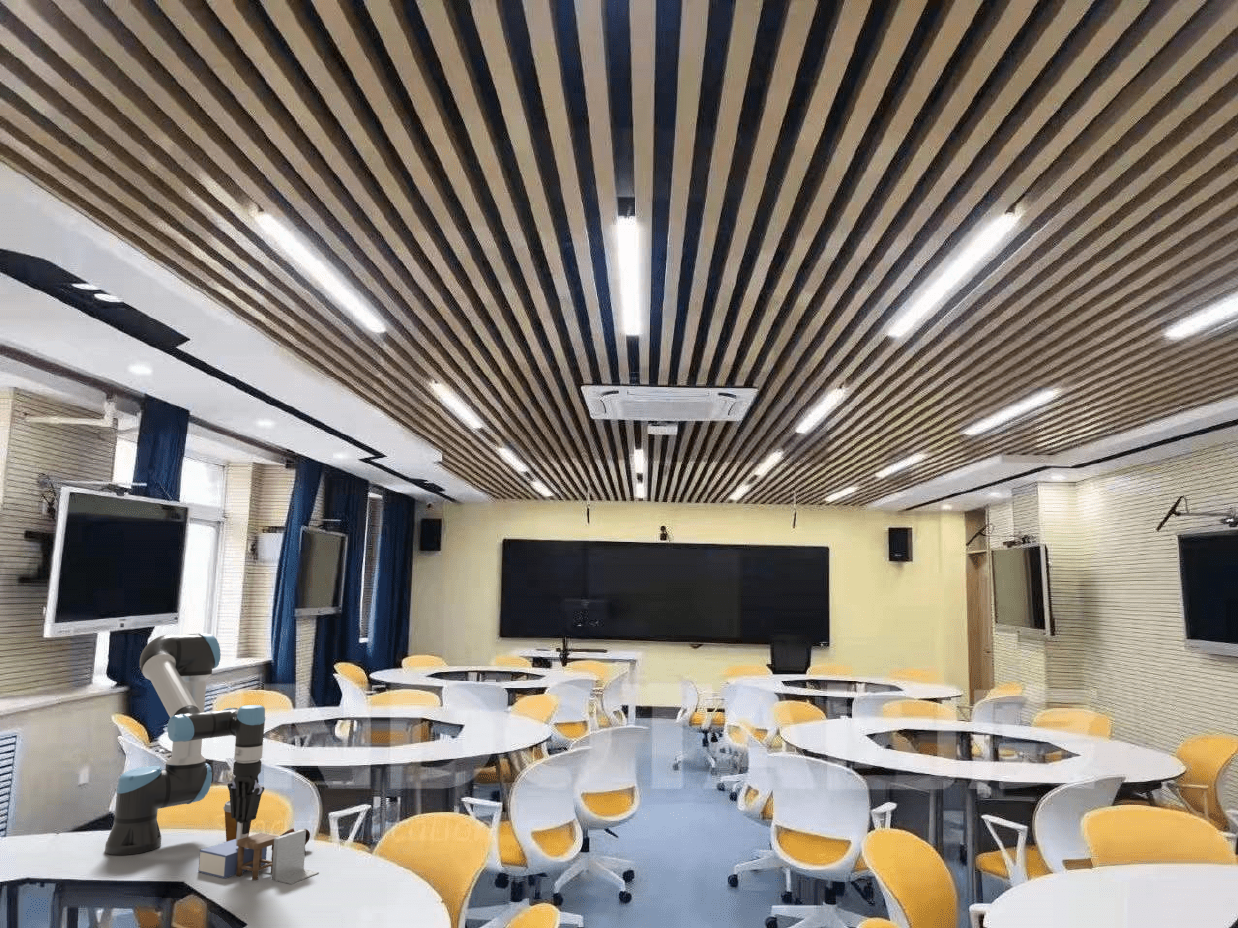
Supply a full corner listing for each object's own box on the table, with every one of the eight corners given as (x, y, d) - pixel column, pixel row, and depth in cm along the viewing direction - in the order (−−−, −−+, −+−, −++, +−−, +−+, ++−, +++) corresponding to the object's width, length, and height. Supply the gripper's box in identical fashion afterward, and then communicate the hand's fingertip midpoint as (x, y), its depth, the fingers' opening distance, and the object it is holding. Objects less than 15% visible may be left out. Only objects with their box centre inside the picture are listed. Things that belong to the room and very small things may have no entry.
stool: (237, 839, 238) (257, 843, 234) (260, 832, 245) (280, 836, 241) (234, 875, 237) (254, 880, 233) (258, 867, 244) (278, 871, 240)
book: (198, 871, 239) (199, 849, 240) (240, 858, 252) (241, 836, 252) (224, 878, 234) (225, 855, 235) (265, 863, 247) (267, 842, 248)
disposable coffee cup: (258, 837, 272) (261, 798, 274) (243, 846, 263) (245, 806, 265) (231, 836, 273) (233, 797, 275) (214, 845, 264) (217, 805, 266)
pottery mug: (291, 862, 250) (278, 837, 251) (273, 871, 254) (261, 846, 255) (321, 841, 260) (309, 817, 261) (304, 850, 265) (292, 826, 266)
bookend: (271, 879, 234) (274, 837, 235) (299, 869, 242) (302, 829, 244) (290, 884, 230) (293, 841, 232) (318, 873, 239) (321, 832, 241)
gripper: (221, 759, 246) (214, 844, 242) (252, 765, 240) (246, 852, 237) (243, 755, 252) (236, 837, 249) (274, 760, 246) (267, 844, 243)
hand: (241, 844), depth 243 cm, fingers closed
